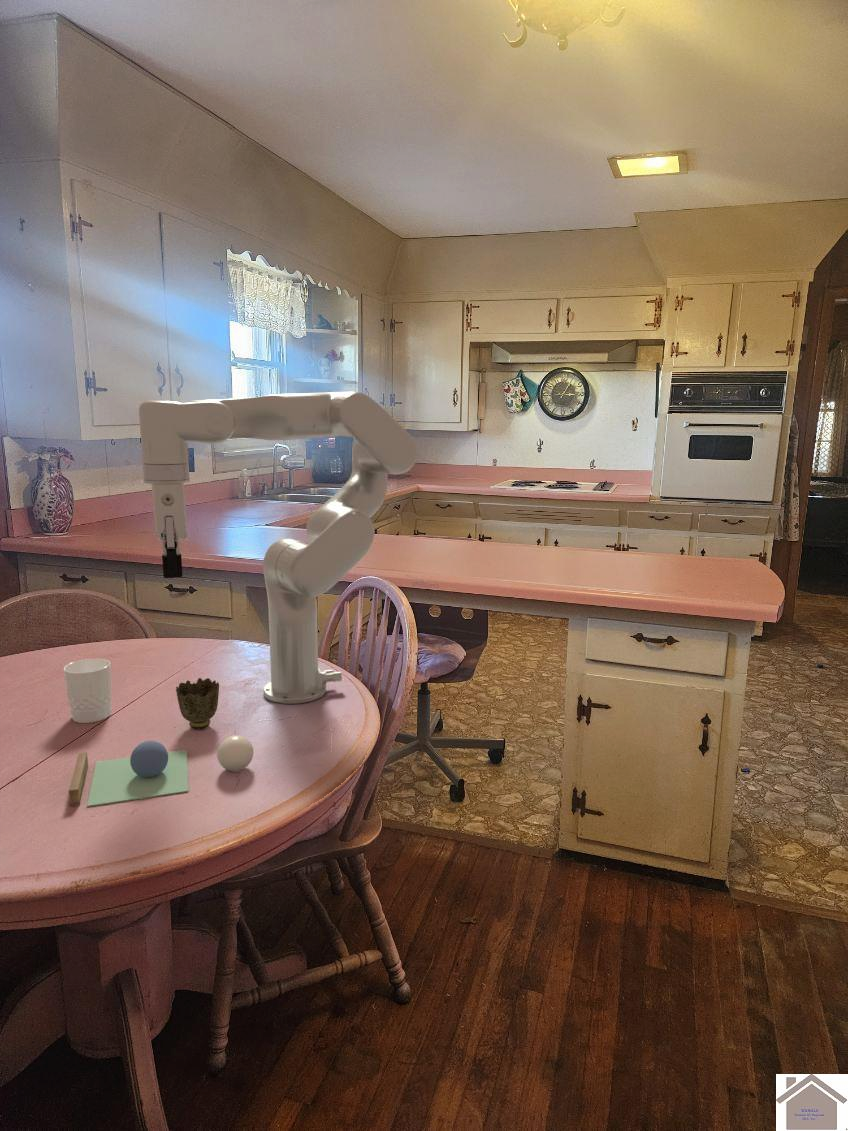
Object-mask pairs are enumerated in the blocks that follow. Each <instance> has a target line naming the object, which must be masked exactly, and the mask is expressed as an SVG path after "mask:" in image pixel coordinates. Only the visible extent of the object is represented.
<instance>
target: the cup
mask: <svg viewBox="0 0 848 1131" xmlns="http://www.w3.org/2000/svg"><path fill="white" fill-rule="evenodd" d="M175 692H176V696H177V702H178V707H179V711H180V713H181V716H182V718H184V719H185V720H186V721H188V724H189V727H190V728H191V730H196V731H197V730H198V731H200V730H205V729H207V728H209V726H210V724H211V719H212V718H213V717H214V716H215V714H216V713H217V710H218V706H219V695H220V694H219V692H220V683H219V681H216V680H213V681H212V680H211V679H210V678H209V677H207V678H205V679H202V678H201V677H199V678H198V679H197V681H196V682H191V681H190V680H189V679H188V680H186V682H180V683H179V684H178V686H177V685H176V687H175Z"/></svg>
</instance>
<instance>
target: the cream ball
mask: <svg viewBox="0 0 848 1131" xmlns="http://www.w3.org/2000/svg"><path fill="white" fill-rule="evenodd" d="M216 753H217V756H216V758H217V762H219V764H220V766H221V767H222V768H223V769H224V770H227V771H229V772H240V771H243V770H244V769H246V768H247V767H248V766H249V765H250V764H251V762H252V760H253V757H254V747H253V744H252V743H251V741H250V740H249V739H248V738H247V737H245V736H242V735H239V734H235V735H230V736H227V737H226V738H225V739H223V740H222V742H221V743H220V744H219V746H218V748H217V752H216Z"/></svg>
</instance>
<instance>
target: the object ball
mask: <svg viewBox="0 0 848 1131" xmlns="http://www.w3.org/2000/svg"><path fill="white" fill-rule="evenodd" d="M167 750H168V749H167V748H166V747H165V746H164V745H163V744H162V743H161V742H159V741H157V740H146V741H143V742H141V743H139V744H138V745H136V746H135V747H134V749H133V750H132V752H131V754H130V757H131V758H130V764H131V768H132V770H133V771H134V772H135V773H136V774H137V775H139V776H141V777H145V778H150V777H154V776H157V775H158V774H160V773H161V772H162V771H163V770H164V769H165V767H166V766H167V763H168V752H169V751H167Z"/></svg>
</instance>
